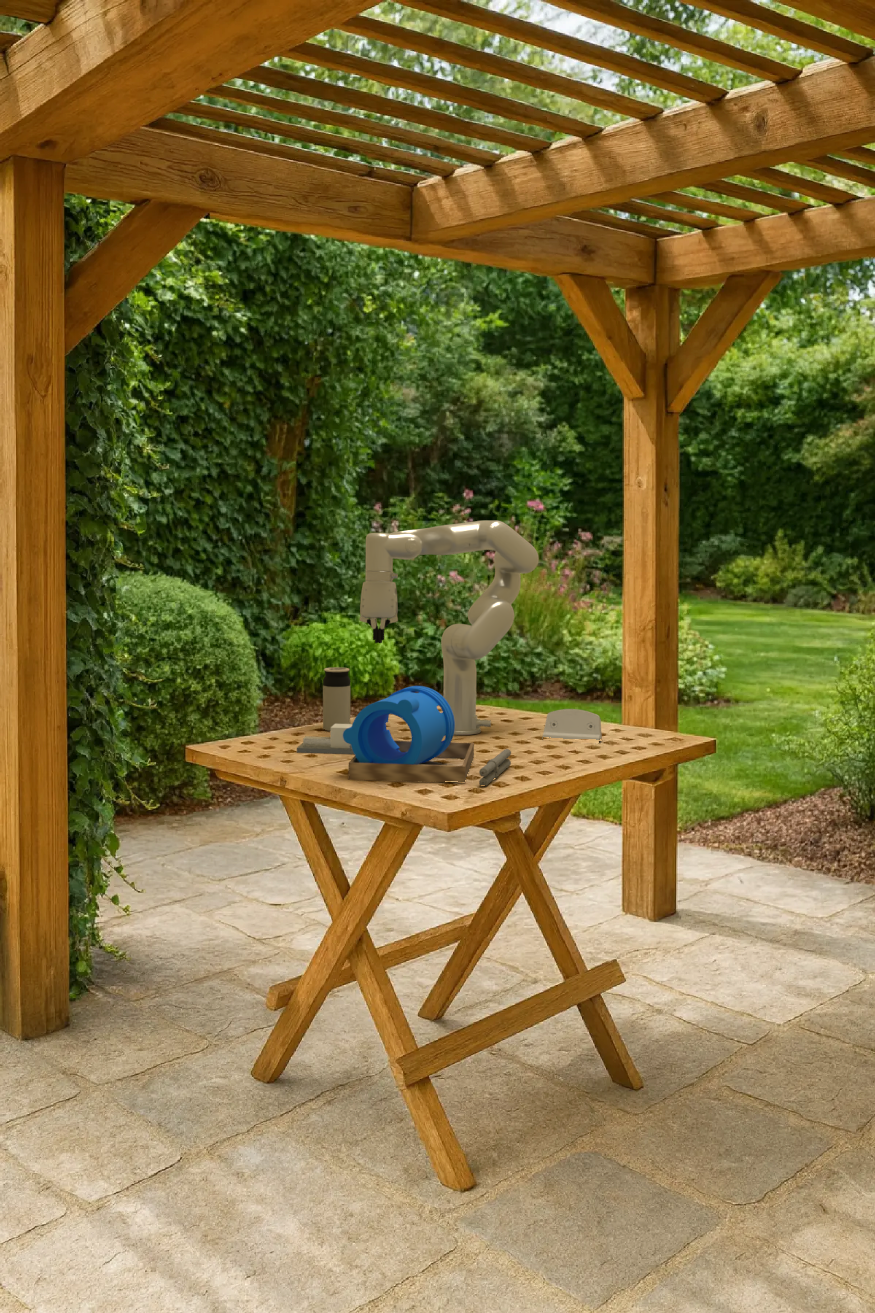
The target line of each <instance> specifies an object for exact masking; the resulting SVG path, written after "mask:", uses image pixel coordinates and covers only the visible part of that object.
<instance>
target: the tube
mask: <svg viewBox="0 0 875 1313" xmlns="http://www.w3.org/2000/svg"><path fill="white" fill-rule="evenodd" d="M438 707H439V708H440V709H441V711H442V712H440V711H439V709H438ZM390 715H394V716H397V717H398V718H401V720H403V721H404V722H405V724H407V725H406V726H408V728H409V731H410V734H411V740H410V741H411V746H410V748H409V750H408V752H401V751H400V750H398V749H399V748H400V747H399V746H398V745H397V744H396V743H395V741H394V739H393V737H392V734H391V730H390V729H387V723H389V719H390V718H389V717H390ZM351 724H352V727H350V728H347V729H346V730H345V731H344V732H343V739H344V741H345V742H346V743H348V744H351V746H352V750H353V752H354V754H353V755H354V756H356V758H357V760H358V761H359V762H360V763H387V764H412V765H414V764H419V765H422V764H424V763H427V762H429V761H431V760H433V759H435V758H438V757H437V756H438V755H440V754H441V753H443V752H444V751H445V750H446V748H447V747H448V746H449V744H450V743H451V742H452V740H453V738H454V736H455V735H454V730H455V720H454V715H453V712H452V709H451V707H450V705H449V704H448V702H447V701H446V699H445V698H444V695H442V694H441V693H440V692H438V691H436V690H434V689H433V688H430V687H427V686H423V685H411V686H408V687H405V688H402V689H400V690H397V691H395V692H393V693H392V694H390V695H389V696H388V697H386V698H383V699H380V700H378V701H375V702H372V703H369V704H368V705H366V706H364V708H362V709H361V710H360V711H359V712H358V713H357V715H356V716H355V718H354V720H353V722H352V723H351ZM443 739H444V740H443Z"/></svg>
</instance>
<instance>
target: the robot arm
mask: <svg viewBox="0 0 875 1313" xmlns="http://www.w3.org/2000/svg"><path fill="white" fill-rule="evenodd" d="M487 550H488V551H489V550H490V551H495V552H494V554H493V555H494V556H493V558H494V559H493V562H494V569H495V570H494V573H495V574H494V577H493V580H492V582H491V583H490V584H489V586H488V587H487V588H486V589H485V590H484V591H483V592H482V593H481V595H480V596H478V597H477V599H476V600H475V601H474V602H473V603H472V605H471V606H470V607H469V610H468V613H467V618H468V622H469V623H470V624H471V625H470V624H464V623H454V624H451V625H449V626H448V627H446V629H445V630H444V631H443V633H442V635H441V643H440V644H441V651H442V652H441V653H442V659H443V697H444V698H445V699H446V701H447V702H448V704H449V705H450V707H451V709H452V712H453V715H454V720H455V730H454V735H453V736H455V735H456V736H466V735H467V736H469V735H475V734H480V733H481V731H482V729H481V727H485V728H487V727H488V728H489V727H490V728H491V726H492V721H491V720H488V719H479V718H478V714H477V713H476V712H477V664H476V660H477V661H478V660H480V659H483V658H485V657H486V656H487V655H488V654H489V653H490V652H491V651H492V650H493V649H494V648H495V647H496V646H497V645H498V643H499V642H500V641H501V640H502V639H503V638H504V636H505V635H506V634H507V633H508V632H509V630H510V629H511V627H512V625H513V623H514V620H515V611H514V607H513V606H512V604H513V603H514V602H515V600H516V599H517V597H518V596H519V593H520V590H521V585H522V584H521V574H529V573H531V572H533V571H534V570H535V569H536V568H537V567H538V565H539V554H538V553H539V552H538V551H537V550H536V548H535V547H534V546H533V545H532V544H531V543H530V542H529V541H527V540H526V539H525V538H524V537H523V536H521V535H520V534H519V533H518V532H517V531H515V529H513V528H512V527H510V526H509V525H508V524H507V523H505V522H503V521H501V520H477V521H475V520H474V521H468V522H462V523H461V522H460V523H453V524H452V523H451V524H444V525H436V526H432V527H427V528H417V529H410V530H409V529H408V530H402V531H393V532H390V533H388V532H387V533H386V532H369V533H368V534H366V538H365V581H363V582H362V588H361V594H360V607H359V608H360V609H359V611H360V612H359V613H360V616H359V621H360V622H362V623H367V624H368V625H369V627H371V629H372V640H373V641H374V644H382V643H383V641H385V628H386V627H387V626H389V625H390V624H392V623H397V622H398V621H399V618H398V592H397V591H398V590H397V584H396V582H393V580H394V579H398V578H399V577H398V576H399V575H398V574H399V573H395V572H394V571H393V568H394V566H393V562H394V560H393V559H396V560H397V559H399V560H412V559H415V558H417V557H418V556H423V555H425V556H426V555H435V556H446V555H447V556H449V555H457V554H464V553H471V552H478V551H487ZM377 619H380V625H379V626H378V621H377ZM476 714H477V715H476Z"/></svg>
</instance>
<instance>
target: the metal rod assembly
mask: <svg viewBox="0 0 875 1313" xmlns="http://www.w3.org/2000/svg"><path fill="white" fill-rule="evenodd" d="M511 755H512V751H511V749H509V748H505V749H503V750H502V751H501V752H499V754H497V755H495V757H494V758H491V759H489V760H488V761H487V763H486V764H485V765H484V766H483V767H481V768H480V769H479V772H478V773H479V775H480V776H481V777H482V778H480V779H479V780H478V784H479V786H480V785H486V786H488V785H489V784H490V783H491V782H492V781H494V780H493V779H494V778H497V779H498V777H499V776H500V775H501V774H502V773H503V772H504V771H506V768H509V767H510V766H511V764H512V761H511V760H510V759H509V757H510V756H511ZM499 774H500V775H499Z"/></svg>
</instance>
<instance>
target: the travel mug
mask: <svg viewBox="0 0 875 1313" xmlns="http://www.w3.org/2000/svg"><path fill="white" fill-rule="evenodd" d="M323 671H324V675H325V676H324V678H323V679H322V680H323V681H322V729H323V730H324V729H325V730H324V731H326V730H327V732H331V727H332V726H333V725H334V724H351V679H350V677H349V672H350V668H347V667H339V666H337V667H326V668H324V669H323Z"/></svg>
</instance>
